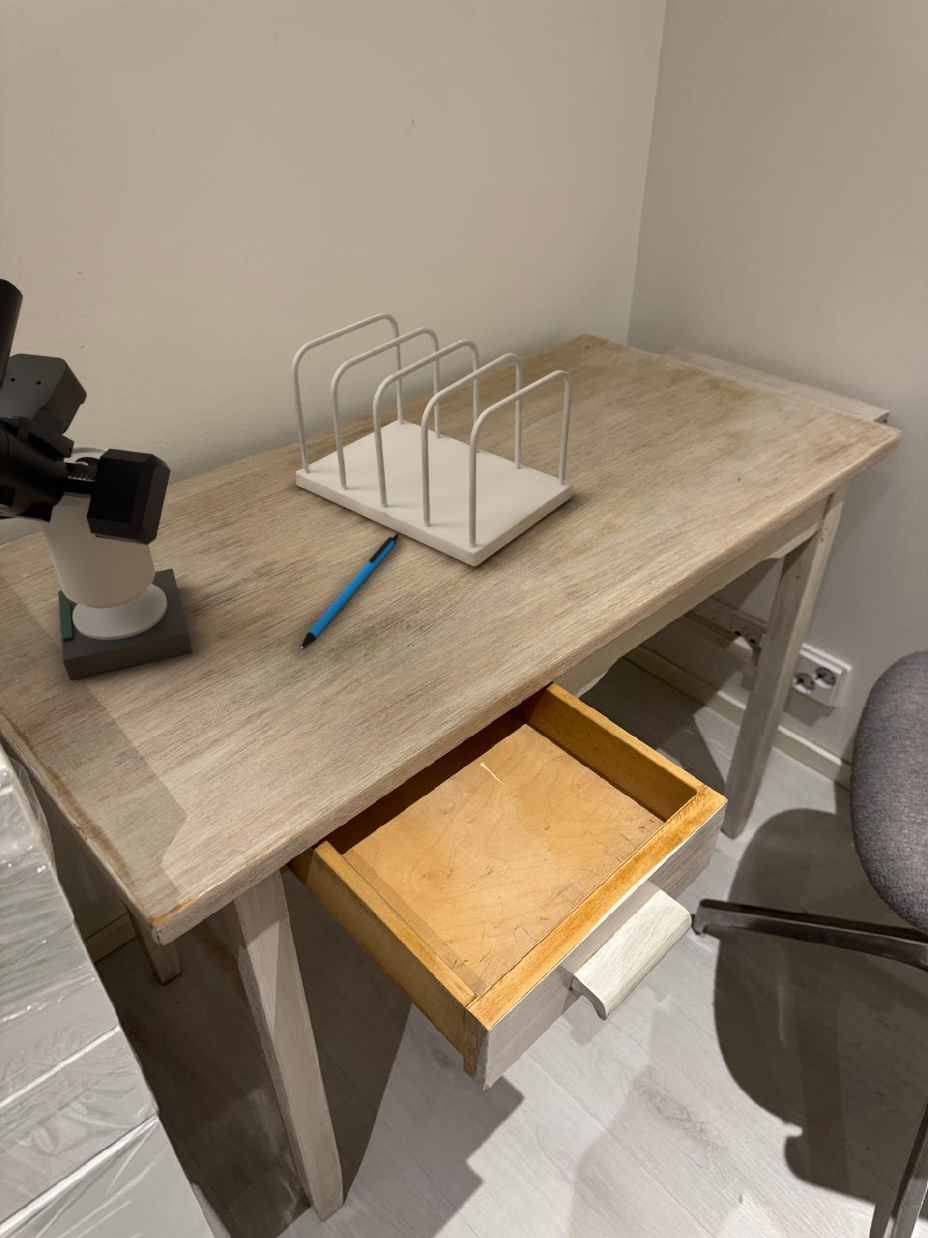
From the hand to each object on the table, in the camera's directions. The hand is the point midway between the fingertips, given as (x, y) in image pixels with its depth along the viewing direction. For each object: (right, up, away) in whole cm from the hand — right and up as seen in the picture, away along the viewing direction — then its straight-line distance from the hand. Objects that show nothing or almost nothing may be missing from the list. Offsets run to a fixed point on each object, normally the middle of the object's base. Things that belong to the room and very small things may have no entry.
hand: (102, 512), depth 73 cm
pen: (+19, -6, +12) cm, 23 cm away
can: (0, -6, +3) cm, 7 cm away
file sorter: (+26, +5, +25) cm, 37 cm away
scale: (0, -10, +6) cm, 12 cm away
